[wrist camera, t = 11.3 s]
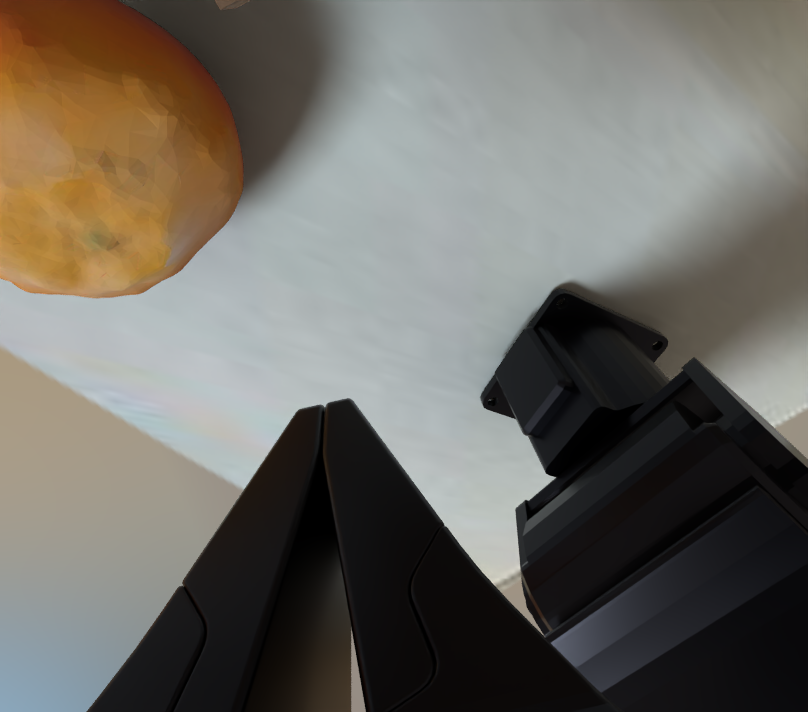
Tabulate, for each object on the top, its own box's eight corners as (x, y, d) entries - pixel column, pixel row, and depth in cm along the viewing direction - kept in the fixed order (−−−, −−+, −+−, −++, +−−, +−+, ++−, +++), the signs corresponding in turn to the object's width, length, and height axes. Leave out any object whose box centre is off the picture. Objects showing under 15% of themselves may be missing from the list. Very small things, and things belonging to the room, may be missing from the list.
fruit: (77, -186, 13) (111, 22, 9) (253, 85, 20) (309, 258, 16) (-200, -19, 13) (-260, 226, 10) (64, 183, 21) (80, 366, 17)
